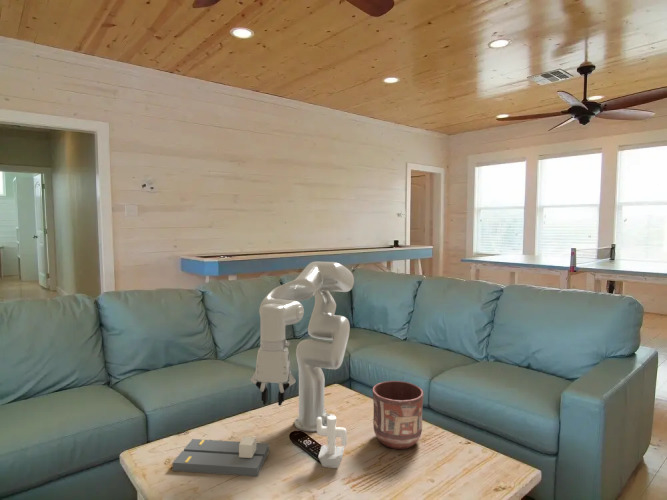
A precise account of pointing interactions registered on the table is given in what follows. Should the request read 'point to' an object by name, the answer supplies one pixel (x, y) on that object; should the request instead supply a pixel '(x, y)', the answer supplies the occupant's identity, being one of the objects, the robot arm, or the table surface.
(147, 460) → the table surface
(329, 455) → the figurine
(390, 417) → the pottery
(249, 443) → the fader knob
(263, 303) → the robot arm
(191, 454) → the fader board
